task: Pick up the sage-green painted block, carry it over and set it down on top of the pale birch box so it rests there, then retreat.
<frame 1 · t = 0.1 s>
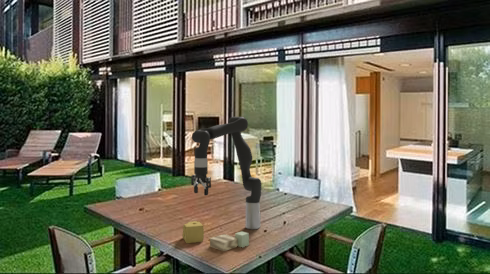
hand: (200, 194, 220), 29 cm above the table, fingers open, 8 cm apart
block: (241, 245, 221), on the table
birch box: (223, 247, 219), on the table
cheese: (193, 240, 229), on the table
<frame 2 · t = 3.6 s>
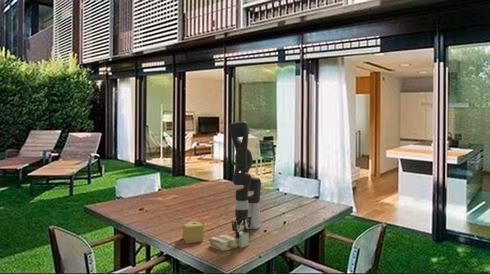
hand: (241, 236, 220), 5 cm above the table, fingers open, 6 cm apart
block: (241, 245, 221), on the table, touching gripper
everything else where it was.
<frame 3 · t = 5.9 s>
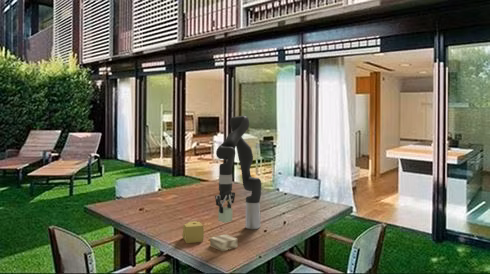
hand: (225, 212, 217), 20 cm above the table, fingers closed on block, 5 cm apart
block: (225, 220, 217), point 15 cm above the table, touching gripper
everything else where it was.
when the fingers open (11 cm above the table, at t = 8.1 s): block drops 1 cm, resting on birch box.
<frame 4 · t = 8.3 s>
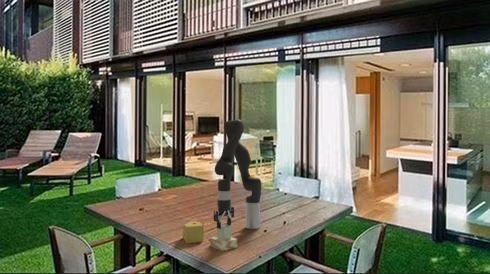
hand: (224, 226, 218), 11 cm above the table, fingers open, 7 cm apart
block: (224, 238, 219), point 5 cm above the table, touching birch box
birch box: (223, 247, 219), on the table, touching block
everything else where it was.
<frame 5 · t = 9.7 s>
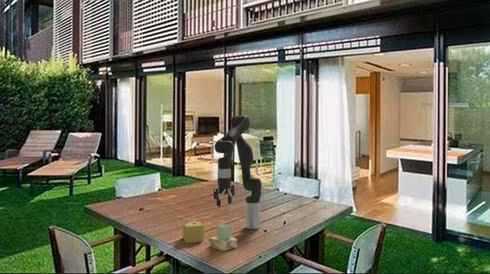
hand: (224, 204, 217), 24 cm above the table, fingers open, 8 cm apart
nothing on the table moved.
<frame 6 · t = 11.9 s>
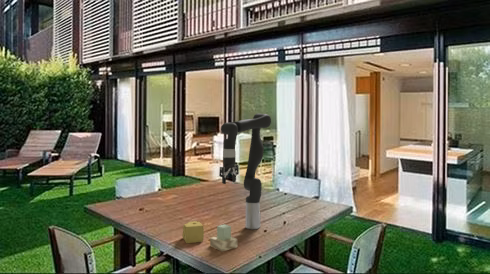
hand: (229, 182, 234), 33 cm above the table, fingers open, 8 cm apart
block: (224, 238, 218), point 5 cm above the table
birch box: (223, 247, 219), on the table
everything else where it was.
at the end: block inside the target area on the birch box (0.1 cm from its centre), point 5.0 cm above the birch box's base; block tilted 0°; the gripper is holding nothing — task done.
